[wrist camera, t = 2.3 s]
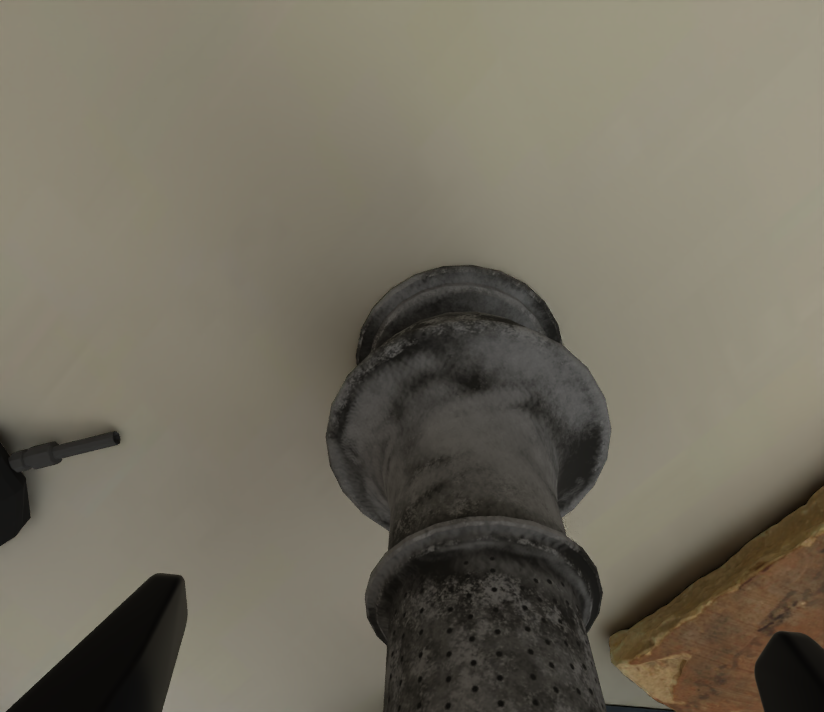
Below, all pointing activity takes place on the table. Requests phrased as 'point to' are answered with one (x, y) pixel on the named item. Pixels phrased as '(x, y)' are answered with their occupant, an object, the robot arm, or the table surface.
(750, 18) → the table surface
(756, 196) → the table surface
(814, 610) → the shard
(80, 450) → the gaming mouse
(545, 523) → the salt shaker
